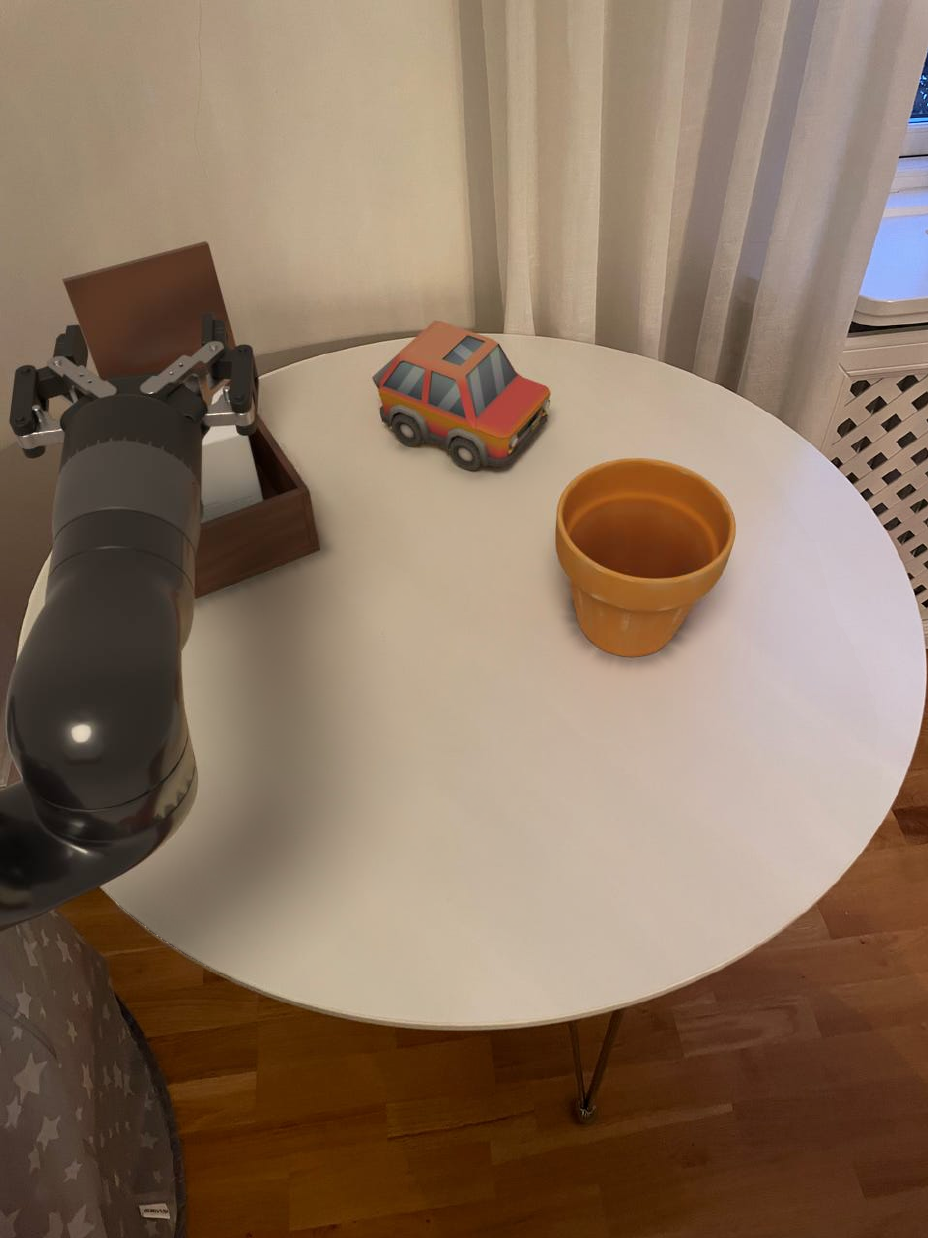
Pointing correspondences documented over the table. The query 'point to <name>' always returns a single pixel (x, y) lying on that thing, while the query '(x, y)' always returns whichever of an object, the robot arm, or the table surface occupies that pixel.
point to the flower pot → (640, 549)
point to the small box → (227, 471)
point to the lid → (147, 310)
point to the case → (258, 524)
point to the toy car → (460, 397)
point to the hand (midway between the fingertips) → (144, 330)
